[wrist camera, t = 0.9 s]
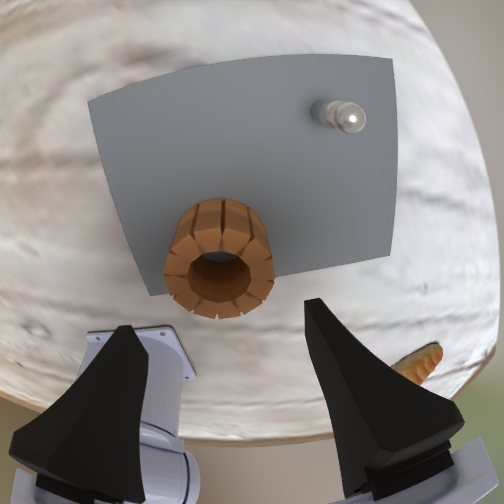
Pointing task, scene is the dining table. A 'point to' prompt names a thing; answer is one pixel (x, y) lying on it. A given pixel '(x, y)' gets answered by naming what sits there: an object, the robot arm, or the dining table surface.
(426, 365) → the pastry
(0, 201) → the dining table surface
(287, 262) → the grey rectangular slab
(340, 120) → the metal post
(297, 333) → the dining table surface
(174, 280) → the bead
